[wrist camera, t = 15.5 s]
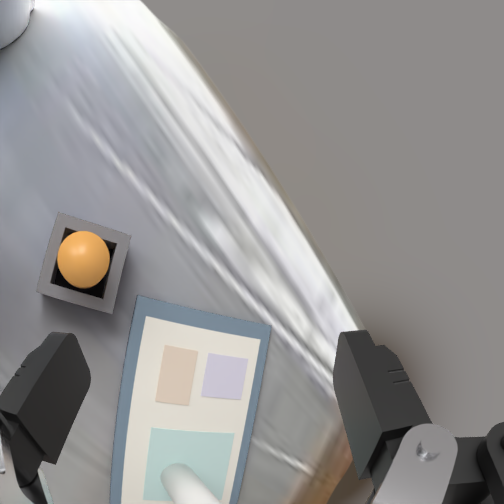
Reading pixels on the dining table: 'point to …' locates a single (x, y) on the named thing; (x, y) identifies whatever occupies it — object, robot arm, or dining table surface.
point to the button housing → (120, 246)
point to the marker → (186, 486)
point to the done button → (83, 259)
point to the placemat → (185, 400)
